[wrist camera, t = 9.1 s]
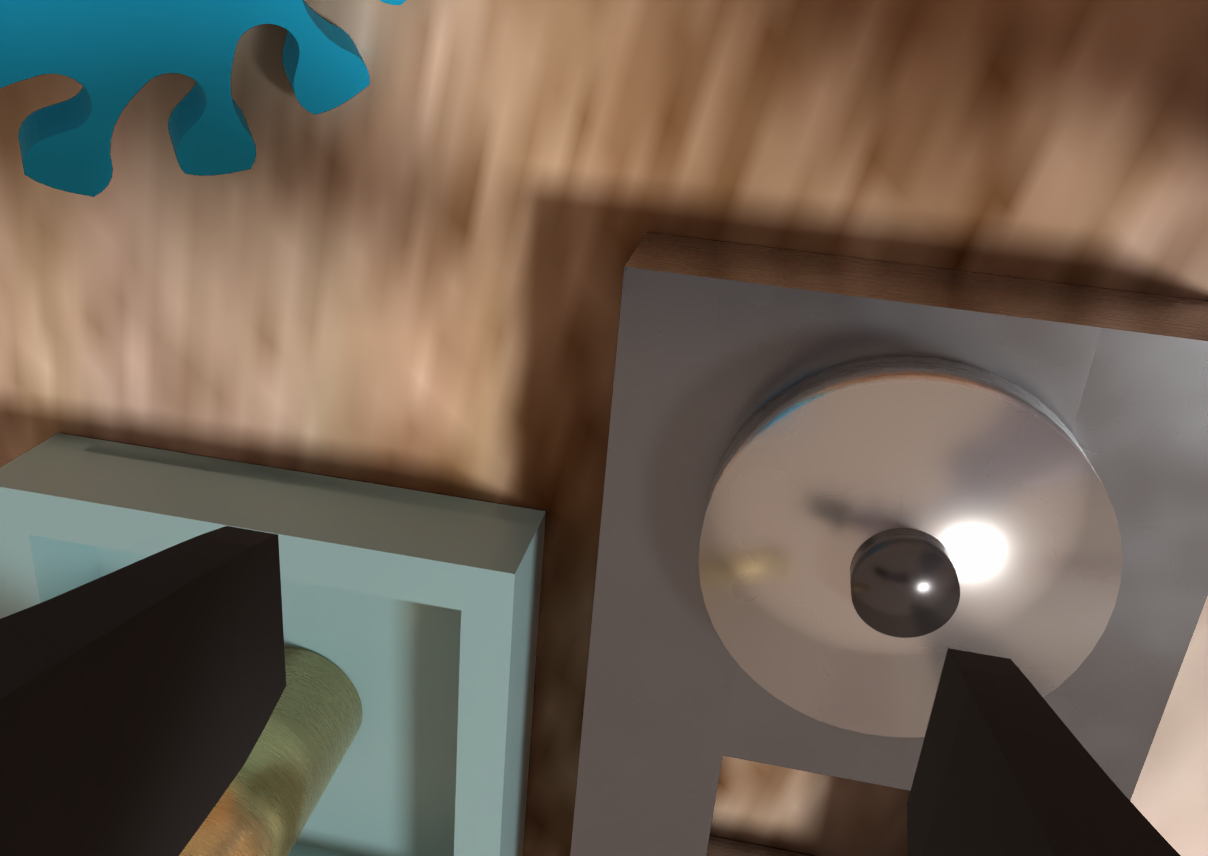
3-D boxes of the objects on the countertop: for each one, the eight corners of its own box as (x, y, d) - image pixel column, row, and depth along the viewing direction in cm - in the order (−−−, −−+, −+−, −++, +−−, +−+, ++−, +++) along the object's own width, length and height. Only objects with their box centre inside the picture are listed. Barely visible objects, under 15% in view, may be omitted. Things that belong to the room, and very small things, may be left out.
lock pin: (421, 679, 23) (230, 1042, 15) (353, 804, 25) (156, 1181, 17) (241, 587, 23) (-43, 908, 15) (187, 720, 25) (-88, 1065, 17)
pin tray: (546, 511, 21) (514, 574, 19) (520, 899, 26) (492, 987, 24) (57, 433, 23) (-26, 482, 20) (114, 812, 27) (51, 887, 25)
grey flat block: (1235, 304, 17) (1357, 398, 13) (1001, 985, 24) (1038, 1178, 20) (646, 232, 19) (604, 298, 15) (580, 896, 25) (539, 1061, 22)
